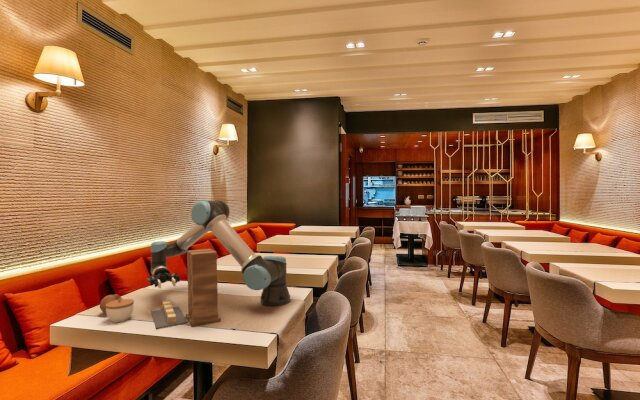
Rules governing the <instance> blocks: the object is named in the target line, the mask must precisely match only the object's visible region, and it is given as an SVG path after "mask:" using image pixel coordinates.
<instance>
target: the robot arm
mask: <svg viewBox="0 0 640 400" xmlns="http://www.w3.org/2000/svg"><path fill="white" fill-rule="evenodd" d="M230 211H231V210H230V207H229V205H228V204H227V203H226V202H225V201H222V200H201V201H197V202H196V203H194V204H193V206H192V207H191V214H190V215H191V220H192V221H193V223H194V225H193V226H192V227H191V228H190V229H189V230H187V231H186V232H185V233H183V234H182V235H181V236H180V237H179V238H177V239H176V240H174V241H173V242H170V243H167V242H166V241H162V240H161V241H153V242H151V244H150V260H151V262H150V263H151V264H150V274H151V275H148V276H147V282H148V283H149V286H154V287H155V288H157V287H158V290H159V289H161V288H162V284H164V283H166V282H171V285H172V286H173V287H176V285H177V283H179V282H181V279H180V277H181V276H180V275H179V274H178V272H175V273H171V272H170V271H169V269H168V265H167V264H168V263H167V259H168V258H172V257H176V256H181V255H184V254H187V251H189V248H190V247H191V246H193V245H194V244H195V243H196V242H198V241H199V240H200V239H201V238H202V237H204V236H205V235H206V234H208V233H209V232H211V233H212V234H213V235H214V236H215V237H216V239H218V241H219V242H220V243H221V245H222V246H223V247H224V248H225V249H226V250H227V251H228V252H229V254H230V255H231V256H232V257H233V259H234V260H236V262H237V263H238V264H239V266H241V270H240V271H241V273H242V274H243V275H242V277H243V283H244V284H245V286H246V287H247V288H249V289H250V290H253V291H260V290H262V292H261V296H260V303H261V304H262V305H264V306H271V307H274V306H277V305H278V306H283V305H286V303H287V304H288V302H289V303H290V302H291V294H290V292H289V289H288V284H287V280H288V279H287V258H286V257H285V256H279V255H277V256H276V255H265V256H262V255H260V254H255V252H254V251H253V250H252V249H251V248H250V247H249V245H248V244H247V243H246V242H245V241H244V240H243V238H242V237H241V236H240V235H239V233H237V231H236V230H235V229H234V228H233V227H232V226H231V224H229V223H228V221H227V220H228V218H229V216H230V213H231V212H230Z"/></svg>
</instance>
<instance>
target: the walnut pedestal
mask: <svg viewBox="0 0 640 400" xmlns="http://www.w3.org/2000/svg"><path fill="white" fill-rule="evenodd" d="M217 253H218V252H217V251H216V250H213V249H212V248H200V249H193V250H189V249H188V250H187V252H186V255H187V256H186V261H187V262H186V263H187V265H186V266H187V303H188V304H187V305H188V313H186V314H185V318H186V320H187V322H188V324H190V326H191V327H192V328H195V327H200V326H204V325H209V324H214V323H218V322H221V321H222V318H221V317H220V315H219V307H218V304H219V303H218V302H219V301H218V298H219V297H218V254H217Z"/></svg>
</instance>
